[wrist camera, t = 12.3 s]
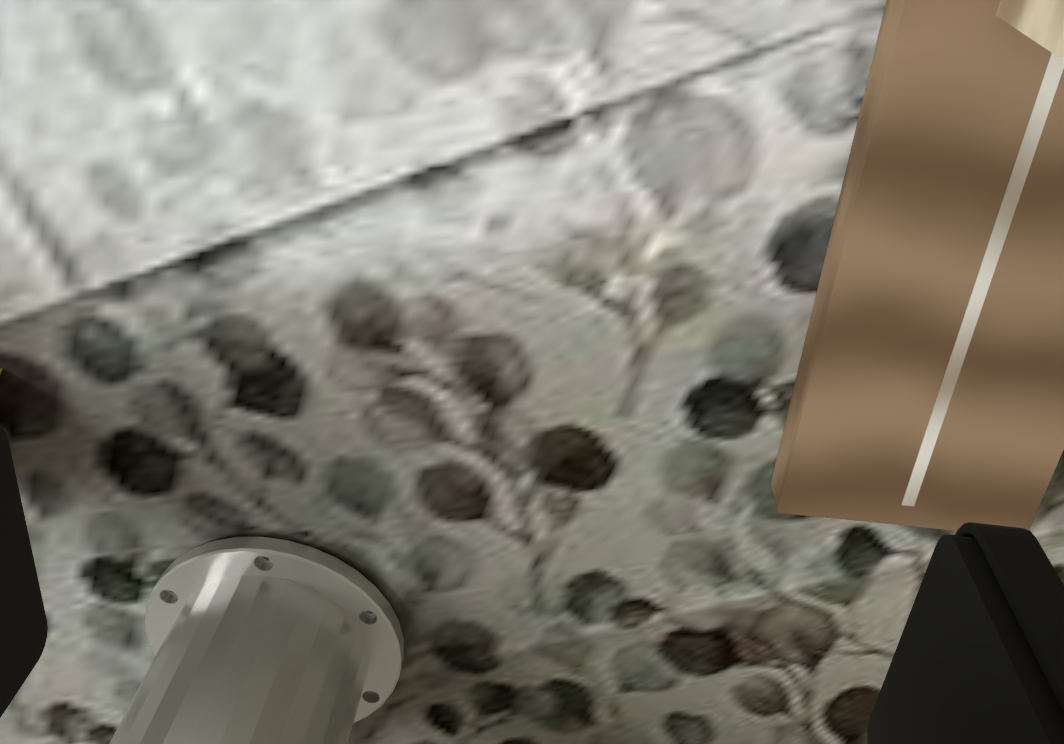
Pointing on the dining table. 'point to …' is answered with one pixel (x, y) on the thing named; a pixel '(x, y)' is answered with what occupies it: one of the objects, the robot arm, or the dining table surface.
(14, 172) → the dining table surface
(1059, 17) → the cream knobbed box
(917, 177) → the board
